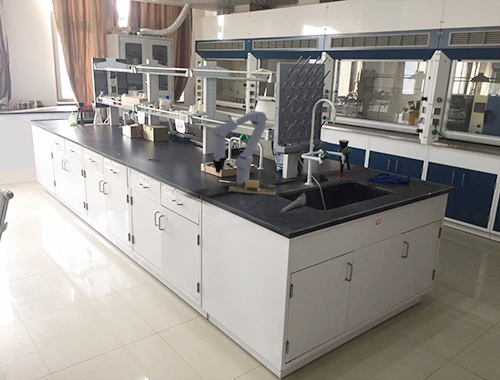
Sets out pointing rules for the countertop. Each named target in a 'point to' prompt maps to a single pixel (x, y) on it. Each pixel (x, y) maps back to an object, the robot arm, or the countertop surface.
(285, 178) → the countertop surface
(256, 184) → the coupler
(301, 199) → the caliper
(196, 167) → the countertop surface
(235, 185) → the mechanism
